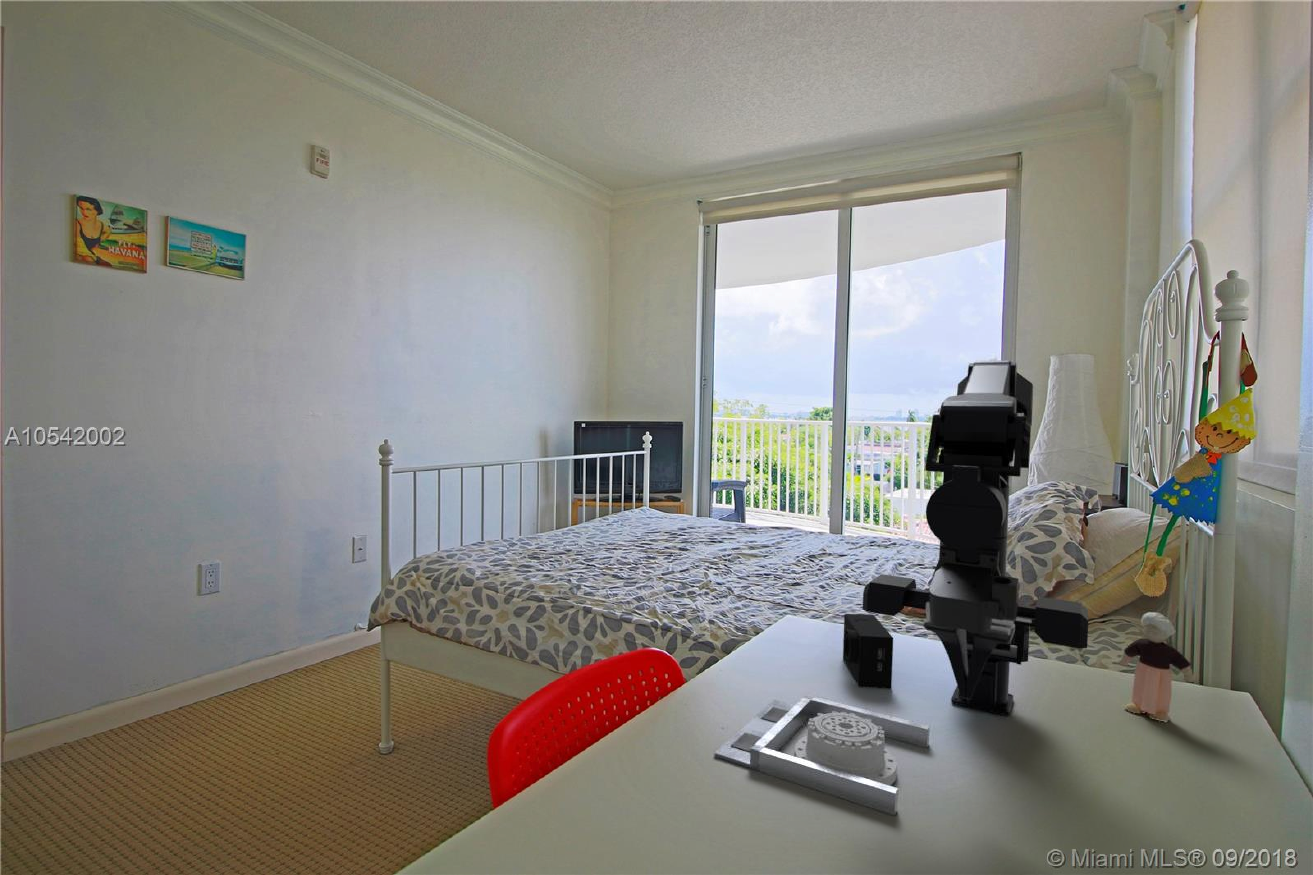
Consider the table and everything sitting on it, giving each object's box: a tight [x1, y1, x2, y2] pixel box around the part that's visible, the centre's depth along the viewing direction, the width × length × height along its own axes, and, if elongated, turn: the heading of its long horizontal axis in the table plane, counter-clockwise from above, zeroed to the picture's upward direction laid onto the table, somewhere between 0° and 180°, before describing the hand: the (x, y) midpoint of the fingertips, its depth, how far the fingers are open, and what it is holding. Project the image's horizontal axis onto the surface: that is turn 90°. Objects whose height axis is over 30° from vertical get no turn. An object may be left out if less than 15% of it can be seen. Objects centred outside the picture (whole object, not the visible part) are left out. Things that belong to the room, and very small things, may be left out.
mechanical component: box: [793, 711, 898, 786], centre depth 68 cm, size 10×4×10 cm
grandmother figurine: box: [1118, 611, 1196, 721], centre depth 82 cm, size 8×4×13 cm, turn 47°
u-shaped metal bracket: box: [713, 694, 930, 816], centre depth 71 cm, size 16×18×2 cm
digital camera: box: [842, 613, 894, 690], centre depth 93 cm, size 10×5×7 cm, turn 176°
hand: (966, 697), depth 63 cm, fingers closed
